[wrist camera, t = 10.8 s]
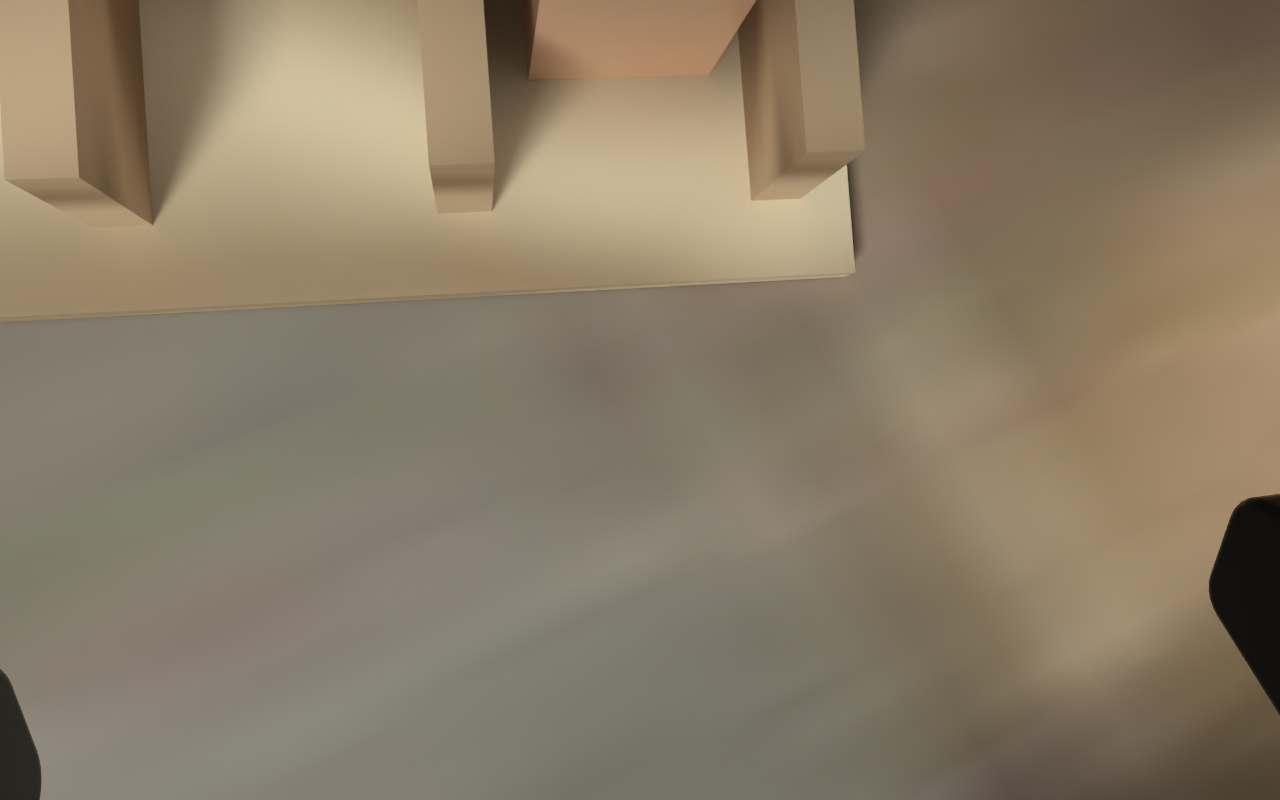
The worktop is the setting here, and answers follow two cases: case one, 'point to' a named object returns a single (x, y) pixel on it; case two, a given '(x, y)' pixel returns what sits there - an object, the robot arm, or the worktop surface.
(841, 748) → the worktop surface
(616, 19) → the tan rectangular block
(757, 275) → the drying rack
